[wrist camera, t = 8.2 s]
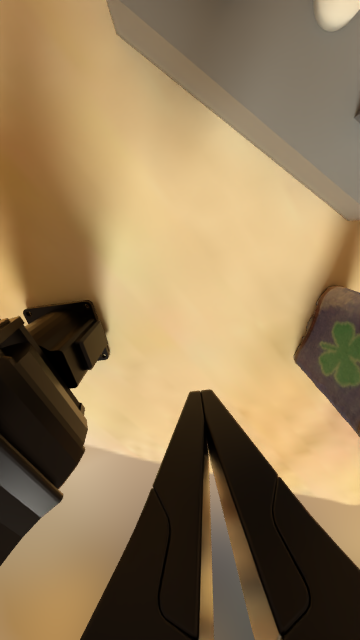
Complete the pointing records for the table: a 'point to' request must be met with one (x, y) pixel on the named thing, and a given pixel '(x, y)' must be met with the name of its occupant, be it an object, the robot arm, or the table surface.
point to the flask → (335, 351)
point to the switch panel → (267, 77)
